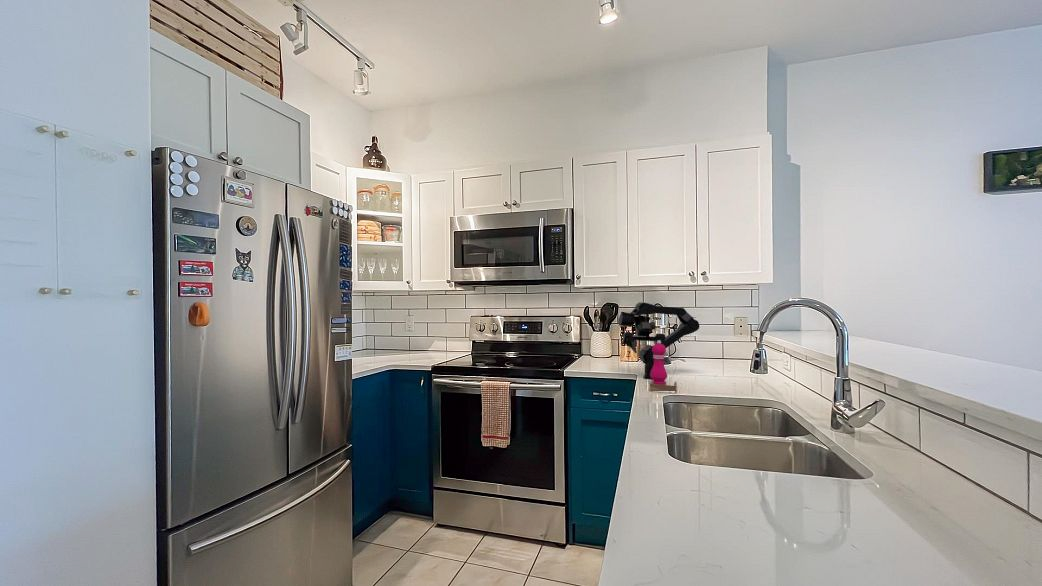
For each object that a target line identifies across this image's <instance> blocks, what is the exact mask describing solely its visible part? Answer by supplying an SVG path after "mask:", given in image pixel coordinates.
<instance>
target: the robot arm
mask: <svg viewBox="0 0 1042 586" xmlns="http://www.w3.org/2000/svg"><path fill="white" fill-rule="evenodd" d="M654 314H661V315H671V316H672V315H673V316H676V317H677V318H678V320H679V322H680V324H679V325H678V327H677V328H676V329H675V330H673V331H672V332H671V333H669V334H668V335H666V334H665V333H655V335H654V336H651V334H652V330H655V329H657V328H656V321H651V317H650V316H648V315H654ZM617 321H618V323H617V324H618V326H620V327H627V328H631V327H632V326H634V327H635V335H634V332H629V331H628V332H627V331H625V332H624V333H623V336H622V344H624V345H626V346H628V348H630V349H631V350H632V351H633V353H634V354H637V352H638V350H637V346H636V342H635V341H640V342H653V343H654V344H653V345H655V344H657V341H658V340H660V341H661V344H662V345H664V346H665V348H666V349H667V348H669V347H670V346H672V345H673V344H674V343H676V342H677V341H679V340H680V339H681V338H683V337H685V336H687V335H690V334H693V333H694V332H697V331H698V330H699V329H700V322H699V321H698V320H697V319H695V318H694V317H693V316H692V315H691V314H690V313H689V312H688V311H687V310H686V309H685V308H684V307H681V306H680V307H673V306H662V305H661V306H660V305H655V304H652V303H647V302H642V301H641V302H638V303H636V305H635V308H633V310H632V311H630V312H626V311H620V314H619V317H618V319H617ZM653 345H650V344H646V345H645V346H644V347H642V348H641V350H639V353H638V357H639V359H640V360H641V361H642V364H643V365H644V374H643V376H642V377H643V379H647V380H648V379H651V380H652V378H651V377H650V372H651V370H652V368H653V365H654V358H653V354H654V353H653V352H652V347H653Z"/></svg>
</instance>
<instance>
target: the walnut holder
mask: <svg viewBox="0 0 1042 586" xmlns="http://www.w3.org/2000/svg"><path fill="white" fill-rule="evenodd" d="M677 384H678V382H677V381H674V383H673V385H669V384H666V385H657V384H654V380H652V379H651V381H650V383H649V392H650V391H676V392H677V389H678V388H677V386H678V385H677ZM676 388H677V389H676Z"/></svg>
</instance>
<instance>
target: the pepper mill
mask: <svg viewBox="0 0 1042 586" xmlns="http://www.w3.org/2000/svg"><path fill="white" fill-rule="evenodd" d="M652 346H653V347H652V352H653V353H654V354H653V358H654V365H653V368H652V370H651V372H650V377H651V378H652V379H651V381H652V380H654V384H657V385H667V382H666V380H667V378H668V374H667V373H668V372H667V370H666V367H665V364H664V360H665V358H666V357H665V355H666V354H665V353H666V352H667V348H665V346H664V345H662V344H661V341H660V340H658V341H657V344H655V345H654V344H653V345H652Z"/></svg>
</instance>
